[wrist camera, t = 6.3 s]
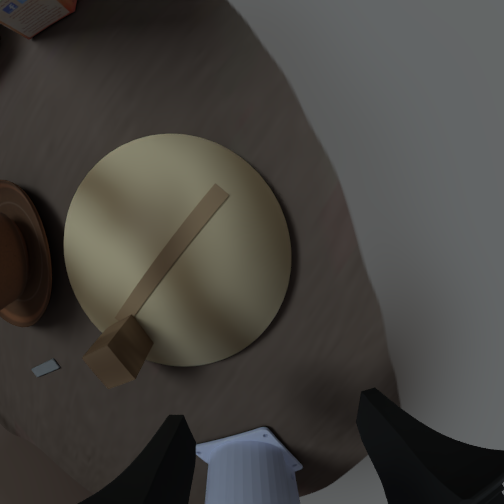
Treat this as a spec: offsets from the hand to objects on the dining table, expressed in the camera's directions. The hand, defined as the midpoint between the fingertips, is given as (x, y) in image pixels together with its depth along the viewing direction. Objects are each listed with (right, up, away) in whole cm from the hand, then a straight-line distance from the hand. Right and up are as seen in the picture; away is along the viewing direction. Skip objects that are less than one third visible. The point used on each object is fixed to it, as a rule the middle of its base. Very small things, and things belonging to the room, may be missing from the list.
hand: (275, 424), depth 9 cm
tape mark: (-21, -4, +9) cm, 23 cm away
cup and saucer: (-21, +7, +7) cm, 23 cm away
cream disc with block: (-6, +6, +7) cm, 11 cm away
